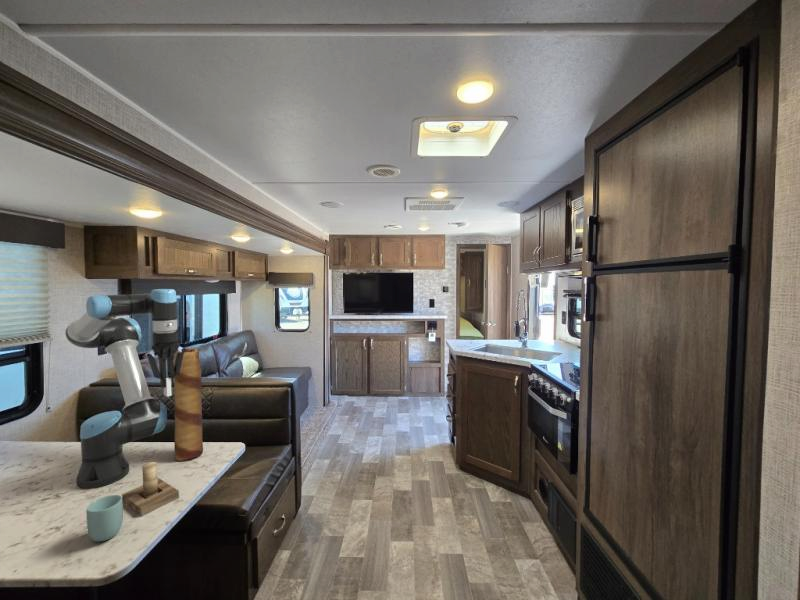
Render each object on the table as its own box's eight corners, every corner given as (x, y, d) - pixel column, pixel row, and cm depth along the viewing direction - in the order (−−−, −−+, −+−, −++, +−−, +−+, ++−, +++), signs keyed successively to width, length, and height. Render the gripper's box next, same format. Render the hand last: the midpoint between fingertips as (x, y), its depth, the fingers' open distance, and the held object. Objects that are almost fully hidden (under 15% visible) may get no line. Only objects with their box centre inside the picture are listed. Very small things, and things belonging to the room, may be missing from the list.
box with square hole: (122, 501, 116) (122, 494, 116) (159, 484, 125) (158, 478, 125) (141, 516, 109) (141, 508, 109) (178, 497, 118) (178, 490, 118)
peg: (141, 500, 116) (140, 466, 116) (154, 494, 120) (153, 460, 119) (147, 504, 114) (145, 469, 114) (160, 498, 118) (159, 464, 117)
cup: (102, 527, 104) (100, 495, 103) (130, 525, 105) (128, 493, 104) (80, 547, 96) (78, 512, 96) (110, 545, 97) (108, 511, 96)
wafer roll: (204, 447, 154) (200, 346, 152) (203, 457, 144) (200, 350, 142) (176, 453, 149) (172, 348, 146) (173, 464, 139) (170, 353, 137)
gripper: (148, 334, 118) (151, 402, 120) (189, 330, 129) (191, 392, 131) (139, 332, 122) (142, 398, 124) (179, 328, 133) (182, 388, 135)
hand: (167, 395), depth 127 cm, fingers closed
